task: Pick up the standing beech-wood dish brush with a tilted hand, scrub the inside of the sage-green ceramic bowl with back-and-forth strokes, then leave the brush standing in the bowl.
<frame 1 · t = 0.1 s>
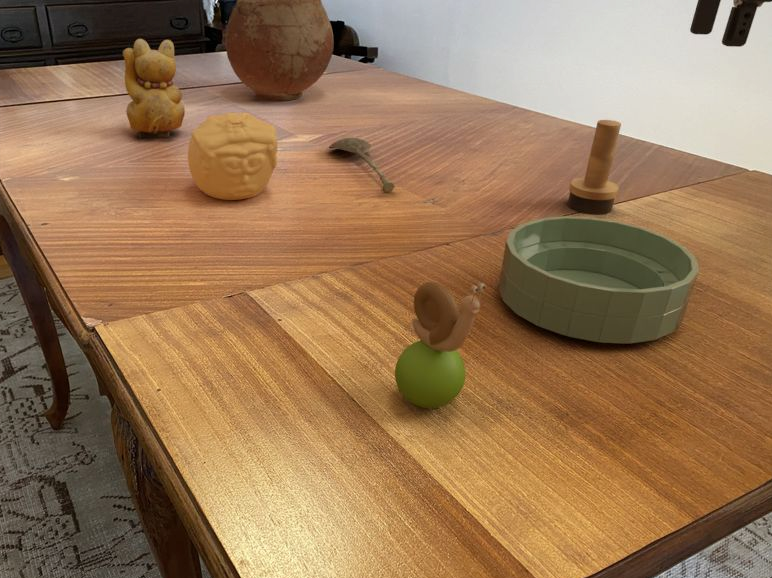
hand: (715, 39, 78), 21 cm above the table, tool pointing down, fingers open, 8 cm apart
sculpture: (233, 193, 97), on the table
bowl: (585, 305, 71), on the table
snail figurine: (430, 406, 56), on the table
dish brush: (589, 206, 94), on the table
jug: (280, 96, 146), on the table
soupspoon: (363, 170, 106), on the table
decorative figurine: (158, 136, 121), on the table
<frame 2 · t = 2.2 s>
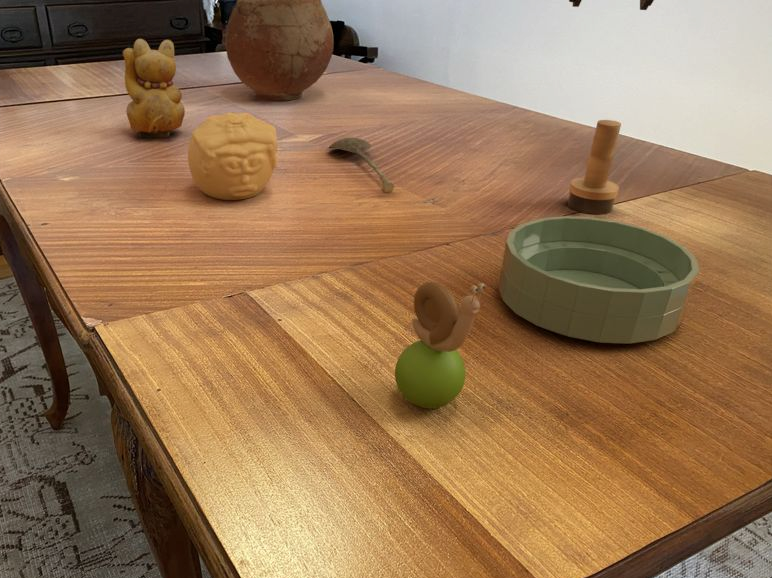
hand: (611, 4, 91), 23 cm above the table, tool tilted 45°, fingers open, 8 cm apart
nothing on the table moved.
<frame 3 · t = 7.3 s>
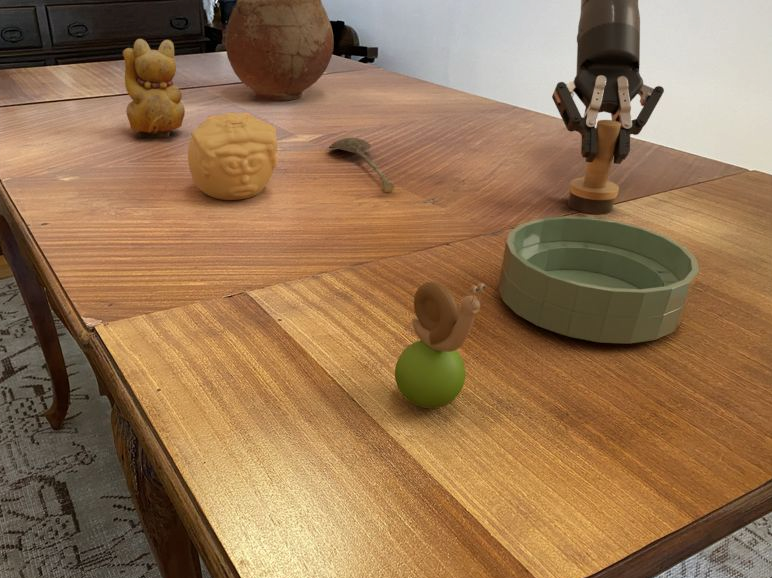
hand: (605, 159, 88), 7 cm above the table, tool tilted 45°, fingers closed on dish brush, 3 cm apart
dish brush: (589, 206, 94), on the table, touching gripper
everything else where it was.
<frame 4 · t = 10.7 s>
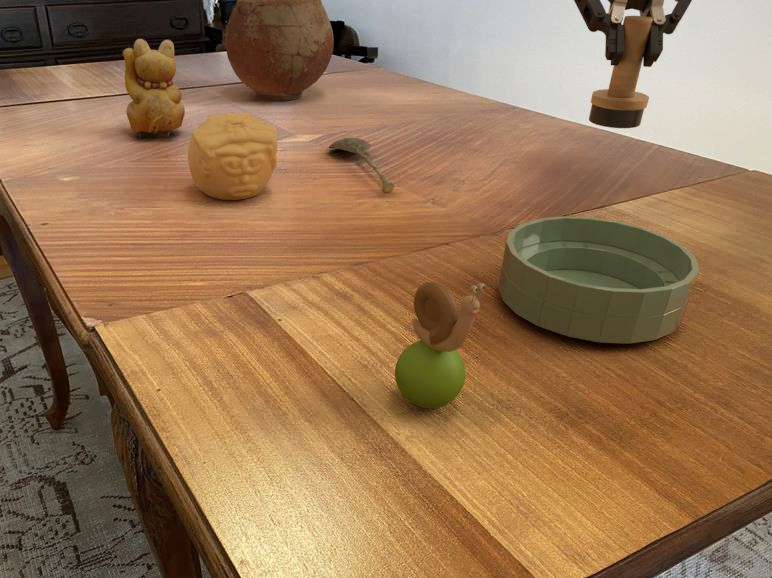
hand: (633, 61, 76), 20 cm above the table, tool tilted 45°, fingers closed on dish brush, 3 cm apart
dish brush: (614, 121, 81), point 13 cm above the table, touching gripper
everything else where it was.
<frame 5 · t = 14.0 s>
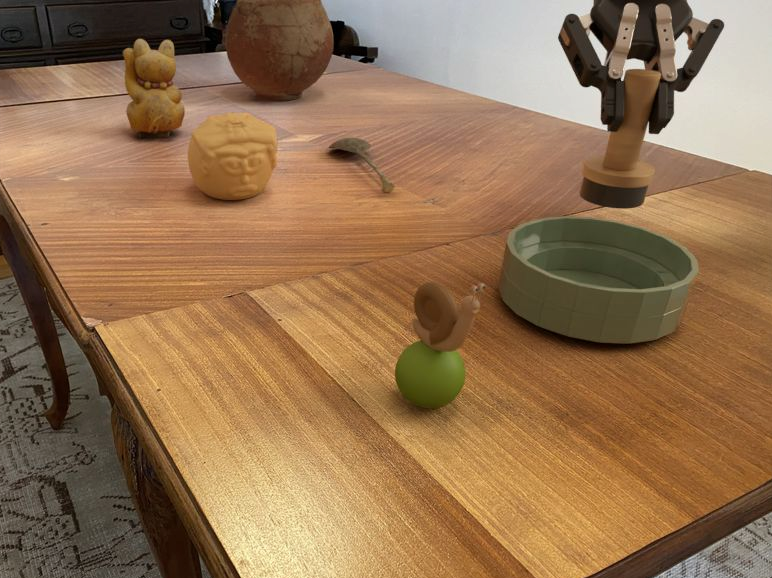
hand: (636, 127, 60), 18 cm above the table, tool tilted 45°, fingers closed on dish brush, 3 cm apart
dish brush: (611, 197, 65), point 11 cm above the table, touching gripper
everything else where it was.
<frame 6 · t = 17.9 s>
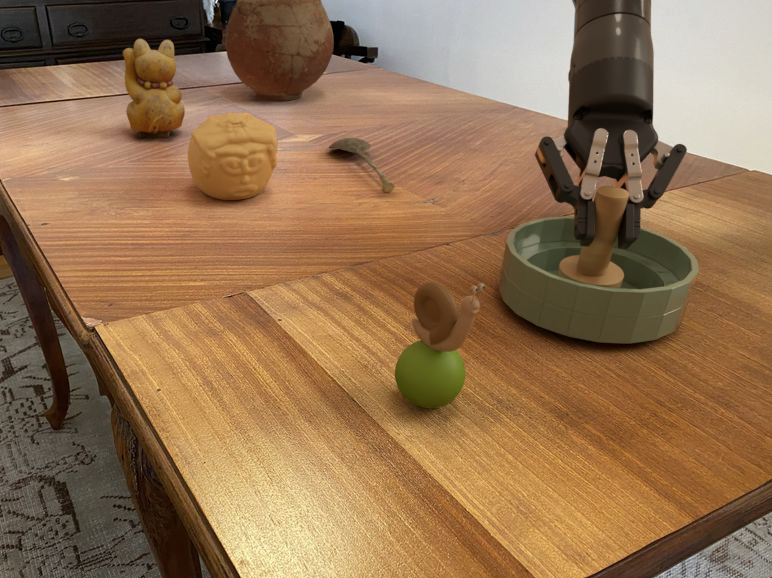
hand: (606, 243, 65), 8 cm above the table, tool tilted 45°, fingers closed on dish brush, 3 cm apart
dish brush: (584, 295, 70), point 1 cm above the table, touching gripper
everything else where it was.
when the fingers open (8 cm above the table, at t = 21.0 s): dish brush stays where it is, resting on bowl.
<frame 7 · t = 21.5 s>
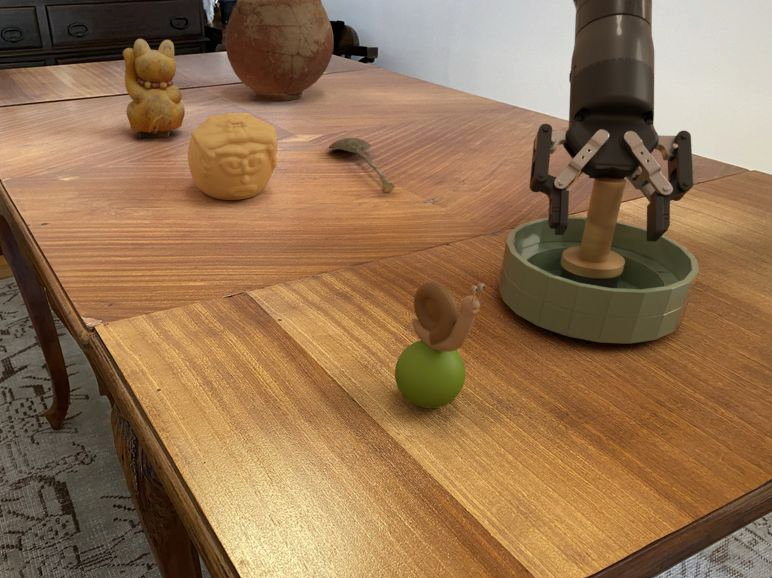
hand: (607, 235, 65), 8 cm above the table, tool tilted 45°, fingers open, 8 cm apart
dish brush: (587, 284, 73), point 1 cm above the table, touching bowl
everything else where it was.
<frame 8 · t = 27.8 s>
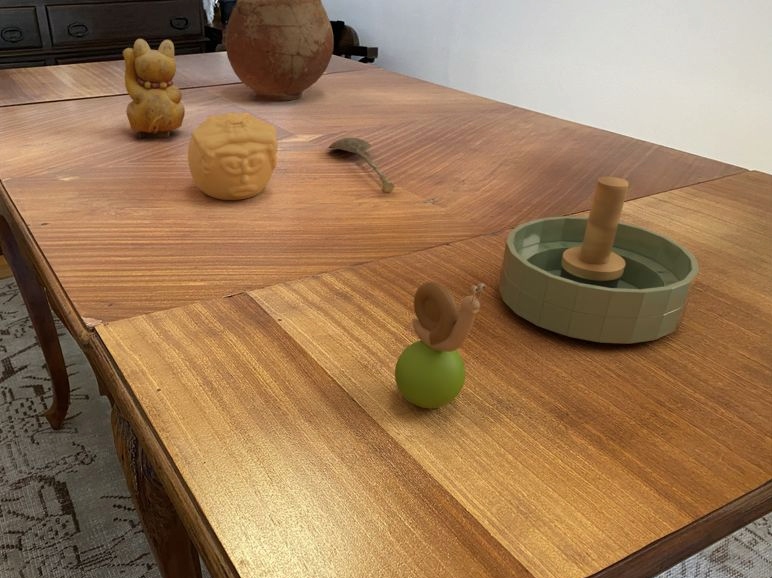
nothing on the table moved.
at the end: dish brush inside the target area in the bowl (3.0 cm from its centre), point 0.8 cm above the bowl's base; dish brush tilted 0° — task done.
